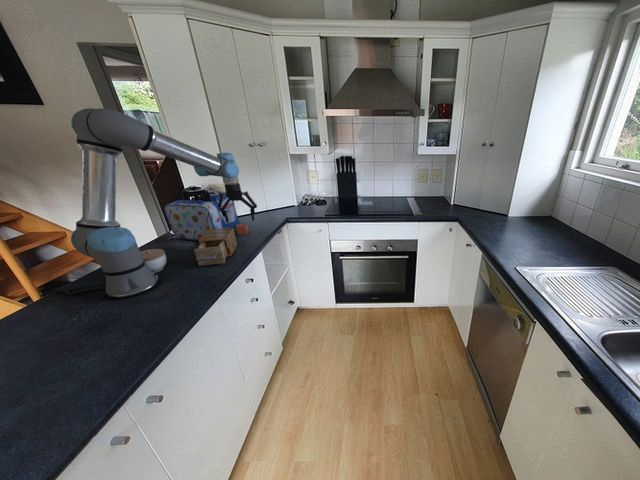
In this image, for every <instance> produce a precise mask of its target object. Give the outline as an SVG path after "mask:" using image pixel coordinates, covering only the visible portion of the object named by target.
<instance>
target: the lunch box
mask: <svg viewBox="0 0 640 480" xmlns="http://www.w3.org/2000/svg"><path fill="white" fill-rule="evenodd" d="M163 210H164V214H165V216H166V219H167V223H169V226H170V229H171V231H172V233H173V235H174V236H175V237H176V238H179V239H182V240H183V239H184V240H191V241H199V239H200V238H201V237H202V236H203V235H204V233H205V232H206V231H207V230H208V229H219V228H224V227H223V223H222V217H223V215H222V213H221V212H220V210H219V207H218V206H217V205H216V204H215V203H213V202H211V201H206V200H205V201H204V200H202V199H201V200H200V199H199V200H190V199H189V200H187V199H177V200H175V201H173V202H171V203H168V204H166V205H165V206H164V208H163Z"/></svg>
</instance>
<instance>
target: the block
mask: <svg viewBox="0 0 640 480" xmlns="http://www.w3.org/2000/svg"><path fill="white" fill-rule="evenodd" d="M235 230H236V234H237V235H238V236H241V235H248V233H249V227H248V223H246V222H244V223H239V224H237V226H235Z"/></svg>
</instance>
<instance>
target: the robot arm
mask: <svg viewBox="0 0 640 480" xmlns="http://www.w3.org/2000/svg"><path fill="white" fill-rule="evenodd" d="M70 124H71V128H72V130H73V132H74V133H75V134H76V145H77V146H78V147H79V148H80V149H81V150H82V205H81V208H82V209H81V210H82V214H81V215H82V216H81V218H79V219H77V220H76V221H75V230H73V232H72V233H71V235H70V242H71V245H72V247H73V248H74V249H75V250H76V251H77V252H78V253H80V254H82V255H84V256H86V257H90V258H91V259H94V260H96V261H97V262H98V264H99V266H100V268H101V270H102V272H103V275H105V285H104V286H97V287H92V288H87V289H83V290H79V291H75V292H74V291H73V292H69V290H66V289H55V290H54V289H52V290H48V291H45V292H43V293H42V294H40V296H39V297H40V298H43V297H45V296H46V295H47V294H48V295H49V294H53V293H55V292H54V291H57V290H59V291H57V292H56V293H65V294H66V295H68V296H73V295H79V294H84V293H87V292H92V291H97V290H103V289H105V293H106V295H107V297H108V298H110V299H114V300H115V299H116V300H119V299H121V300H122V299H128V298H133V297H136V296H140V295H143V294H145V293H147V292H149V291H151V290H152V289H154V288H155V287H156V286H157V285H158V284H159V283H160V280H159V277H158V275H157V274H155V273H153V272H152V271H151V270H150V269H149V268H148V267H147V266H146V264H145V262H144V260H143V257H142V255H141V253H140V252H141V250H140V247H139V245H138V243H137V240H136V237H135V235H134V234H133V233H132V231H131V230H130V229H128V228H126V227H122V226H121V223H120V222H118V221H117V220H116V204H117V203H116V200H117V165H118V164H117V163H118V162H117V161H118V156H120V155H122V154H123V151H124V149H123V148H124V147H128V148H131V149H132V148H133V149H136V150H139V151H143V152H147V151H150V152H152V153H156V154H159V155H160V156H161V155H162V156H164V157H167V158H170V159H173V160H175V161H179V162H181V163H183V164H185V165H186V164H187V165H190V166H191V167H192V166H193V170H194V172H195V173H196V174H197V175H198V176H199V177H209V176H212V177H221V179H222V183H223V184H224V185H223V186H224V187H223V188H224V190H225V191H224V192H226V193H223V192H219V193H220V200H219V203H218V207H219V210H220V211H221V212H222V215H223V217H225V219H226V223H228V222H229V219H228V216H227V212H226V210H224V209H225V208H226V206H227V205H228V203H229V202H230V200H231V201H234V202H238V201H240V202H242V203H243V204H244V205H246V206H247V207H248V208H249V212H250V216H251V220H252V221H253V222H254V221H255V215H256V210H255V209H257V208H258V205H257V203H256V202H255V201H254V199H253V198H252V197H251V196H250V194H249V191H247V190H246V191H244V192H242V189H241V184H240V179H239V173H240V168H239V166H238V164H237V163H236V161H235V158H234V155H233V154H232V152H217V153H216V155H214V154H210V153H208V152H206V151H203V150H201V149H200V148H196V147H195V146H193V145H190V144H188V143H185V142H182V141H180V140H178V139H175V138H173V137H171V136H169V135H166V134H164V133H161V132H159V131H157V130H155V129H154V128H153V126H152V125H150V124H148V123H145V122H143V121H140V120H138V119H137V118H134V117H133V116H129V115H128V114H125V113H123V112H121V111H118V110H115V109H112V108H104V107H103V108H92V107H91V108H90V107H89V108H83V109H80V110H77V111H76V112H75V113H74V114H73V115H72V116H71V120H70ZM225 196H227V197H228V200H227V201H226V203H225V204H224V206H223V207H222V208H221V205H222V202H223V198H224V197H225ZM244 197H245V198H246V199H247V200H246V199H245V198H244ZM60 290H61V291H60Z"/></svg>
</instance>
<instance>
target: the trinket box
mask: <svg viewBox="0 0 640 480" xmlns="http://www.w3.org/2000/svg"><path fill="white" fill-rule="evenodd" d="M140 253H141V255H142V257H143V260H144V262H145V264H146V266H147V267H148V268H149V269H150V270H151V271H152V272H153V273H154V274H155V273H158V272H161V271H163V270H164V268H165V266H166V264H167V255H166V252H165V250H164V249H162V248H151V249H146V250H143V251H140Z"/></svg>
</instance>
